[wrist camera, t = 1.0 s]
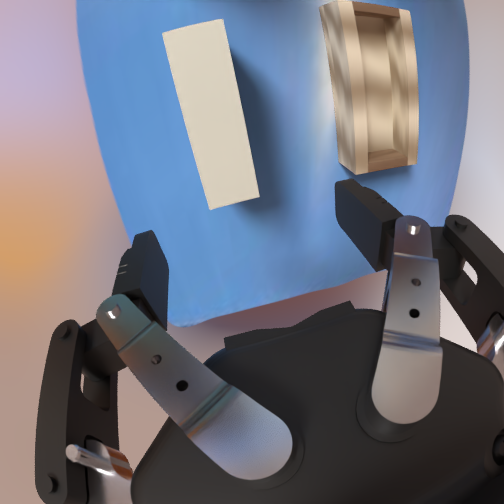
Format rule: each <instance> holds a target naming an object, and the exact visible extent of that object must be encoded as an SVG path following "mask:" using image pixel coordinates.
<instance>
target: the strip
mask: <svg viewBox="0 0 504 504" xmlns="http://www.w3.org/2000/svg"><path fill="white" fill-rule="evenodd" d="M162 35H163V39H164V43H165V47H166V51H167V55H168V59H169V63H170V67H171V71H172V75H173V79H174V83H175V87H176V91H177V95H178V98H179V102H180V106H181V110H182V114H183V117H184V121H185V125H186V128H187V132H188V136H189V139H190V143H191V146H192V150H193V153H194V157H195V160H196V164H197V167H198V171H199V174H200V178H201V181H202V185H203V188H204V192H205V195H206V198H207V202H208V205H209V208H210V210H211V209H215V208H218V207H222V206H226V205H230V204H233V203H237V202H241V201H245V200H249V199H253V198H257V197H260V196H259V191H258V186H257V181H256V175H255V170H254V165H253V160H252V155H251V150H250V145H249V140H248V135H247V130H246V125H245V120H244V115H243V110H242V105H241V101H240V96H239V91H238V86H237V82H236V77H235V72H234V68H233V63H232V58H231V54H230V49H229V45H228V40H227V36H226V31H225V27H224V22H223V19H219V20H213V21H208V22H203V23H199V24H194V25H190V26H186V27H182V28H178V29H175V30H171V31H168V32H164V33H162Z"/></svg>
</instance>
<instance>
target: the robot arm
mask: <svg viewBox="0 0 504 504" xmlns="http://www.w3.org/2000/svg"><path fill="white" fill-rule="evenodd" d="M335 210H336V218H337V221H338V224H339V225H340V227H341V228H342V229H343V230H344V232H345V233H346V234H347V235H348V237H349V238H350V239H351V240H352V242H353V243H354V244H355V245H356V247H357V248H358V249H359V250H360V252H361V253H362V254H363V256H364V257H365V258H366V259H367V261H368V262H369V263H370V265H371V266H372V267H373V269H374V270H375V271H376V272H378V271H380V270H383V269H387V270H388V273H387V279H386V287H385V292H384V299H383V304H382V310H381V311H378V310H373V309H355V308H354V306H353V305H352V303H351V302H350V301H347V302H344V303H341V304H338V305H335V306H332V307H329V308H327V309H324V310H321V311H319V312H317V313H315V314H314V315H312V316H310V317H309V318H307V319H305V320H303V321H302V322H300V323H298V324H296V325H294V326H292V327H287V328H273V329H259V330H258V329H257V330H252V331H249V332H245V333H241V334H237V335H233V336H229V337H225V338H224V342H225V348H224V349H221V350H220V351H218V352H216V353H215V354H213V355H212V356H211V357H210V358H208V359H207V360H206V361H205V362H204V363H201V362H200V361H199V360H198V359H197V358H195V357H194V356H193V355H192V354H191V353H190V352H188V351H187V350H186V349H185V348H184V347H183V346H181V345H180V344H179V343H178V342H177V341H176V340H175V339H174V338H173V337H171V336H170V335H169V334H168V333H167V332H166V331H167V308H168V281H169V268H168V263H167V260H166V258H165V255H164V253H163V251H162V249H161V247H160V245H159V242H158V240H157V238H156V236H155V234H154V232H153V231H152V230H149V231H146V232H143V233H140V234H137V235H135V237H134V240H133V244H132V248H130V249H127V251H126V252H125V253H124V255H123V256H122V258H121V261H120V264H119V269H118V272H117V275H116V280H115V284H114V287H113V292H112V296H110V297H109V298H107V299H106V300H104V301H103V302H102V303H101V305H100V306H99V308H98V309H97V312H96V319H94V320H93V321H91V322H89V323H87V324H85V325H83V326H79V324H78V323H77V322H76V321H75V320H66V321H64V322H62V323H61V324H60V325H59V326H58V327H57V328H56V329H55V331H54V332H53V334H52V337H51V341H50V346H49V350H48V354H47V359H46V364H45V369H44V374H43V380H42V386H41V392H40V399H39V408H38V417H37V428H36V442H35V485H36V489H37V492H38V494H39V496H40V498H41V499H42V500H43V502H44V503H46V504H504V253H503V252H502V251H501V250H500V249H499V248H498V247H497V246H496V245H495V244H494V243H493V242H492V241H491V240H490V239H489V238H488V237H487V236H486V235H485V234H484V233H483V232H482V231H481V230H480V229H479V228H478V227H477V226H476V225H475V224H474V223H472V222H471V221H470V220H469V219H467V218H466V217H463V216H460V215H449V216H447V217H446V220H445V224H444V227H430V226H429V224H428V223H427V222H426V221H425V220H423V219H421V218H419V217H416V216H410V215H407V216H404V215H402V214H401V213H400V212H399V211H398V210H397V209H396V208H394V207H393V206H392V205H391V204H390V203H389V202H388V203H387V201H386V200H385V199H384V198H382V196H380V195H379V194H378V193H377V192H375V191H374V190H371V189H369V188H367V187H362V186H361V185H360V184H359V183H357V182H356V181H355V180H354V179H347V180H342V181H338V182H336V183H335ZM465 261H467V262H468V263H469V264H470V265H471V266H472V267H473V269H474V270H475V271H476V274H477V278H478V280H477V284H476V285H475V284H474V282H473V281H472V280H471V279H470V278H469V276H468V275H467V274H466V273H465V271H464V270H463V267H464V264H465ZM440 290H441V291H442V292H443V294H444V295H445V297H446V298H447V300H448V301H449V302H450V304H451V305H452V307H453V308H454V310H455V311H456V313H457V314H458V315H459V317H460V318H461V320H462V322H463V323H464V324H465V326H466V328H467V329H468V331H469V332H470V334H471V335H472V337H473V339H474V340H475V342H476V344H477V353H476V352H474V351H471V350H469V349H467V348H465V347H462V346H460V345H458V344H456V343H453V342H451V341H449V340H446V339H444V338H442V337H440ZM126 367H128V368H129V369H130V371H131V372H132V373H133V375H135V377H136V378H137V380H138V381H139V382H140V383H141V384H142V386H143V387H144V388H145V389H146V390H147V392H148V393H149V394H150V395H151V396H152V397H153V399H154V400H155V401H156V402H157V403H158V404H159V405H160V406H161V408H163V410H164V411H165V412H166V413H167V414H168V415H169V417H168V419H167V420H166V422H165V423H164V425H163V426H162V428H161V430H160V431H159V433H158V434H157V436H156V438H155V439H154V441H153V442H152V444H151V446H150V447H149V449H148V450H147V452H146V453H145V455H144V457H143V458H142V459H141V461H140V463H139V464H138V466H137V467H136V469H135V471H134V473H133V470H132V468H131V467H130V464H129V462H128V459H127V458H126V456H125V455H124V454H123V453H121V452H120V451H119V437H118V412H117V411H118V410H117V383H118V381H117V380H118V371H120V370H122V369H124V368H126ZM81 374H83V375H84V386H83V393H82V391H81V386H80V384H81Z"/></svg>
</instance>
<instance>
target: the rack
mask: <svg viewBox="0 0 504 504" xmlns="http://www.w3.org/2000/svg"><path fill="white" fill-rule="evenodd" d="M319 10H320V15H321V20H322V25H323V30H324V36H325V41H326V47H327V54H328V60H329V67H330V74H331V82H332V90H333V99H334V108H335V118H336V130H337V144H338V160H339V162H340V163H341V164H342V165H344V166H345V167H346V168H348V169H349V170H350V171H352V172H353V173H354V174H355V175H358V174H363V173H368V172H373V171H379V170H384V169H390V168H395V167H401V166H407V165H413V164H417V153H418V130H419V99H418V76H417V62H416V52H415V43H414V36H413V29H412V22H411V16H410V11H407V10H402V9H398V8H393V7H388V6H382V5H376V4H369V3H362V2H354V1H343V0H336V1H333V2H330V3H328V4H325V5H322V6H320V7H319Z"/></svg>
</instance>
